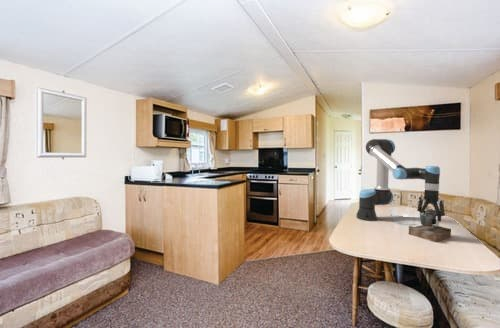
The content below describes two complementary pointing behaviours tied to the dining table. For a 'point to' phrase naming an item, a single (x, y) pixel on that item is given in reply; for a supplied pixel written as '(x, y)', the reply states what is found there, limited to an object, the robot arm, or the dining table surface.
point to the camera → (428, 218)
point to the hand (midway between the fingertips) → (429, 224)
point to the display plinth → (430, 232)
